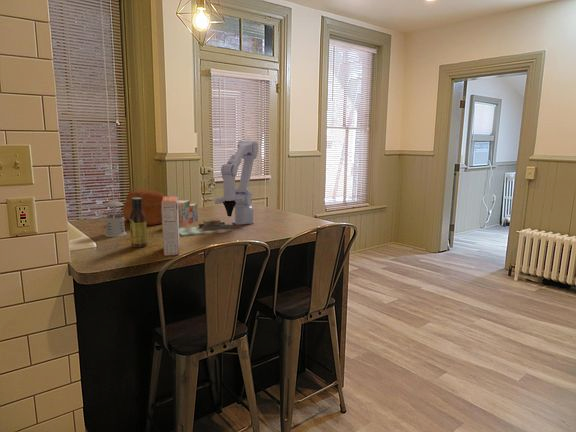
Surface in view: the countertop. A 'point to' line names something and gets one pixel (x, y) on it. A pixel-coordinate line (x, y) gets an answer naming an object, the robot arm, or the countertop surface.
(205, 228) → the channel rails
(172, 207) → the cracker box
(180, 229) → the chute board
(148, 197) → the bread
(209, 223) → the walnut block
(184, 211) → the stack of blocks
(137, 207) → the sauce bottle
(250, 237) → the countertop surface
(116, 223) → the french press
